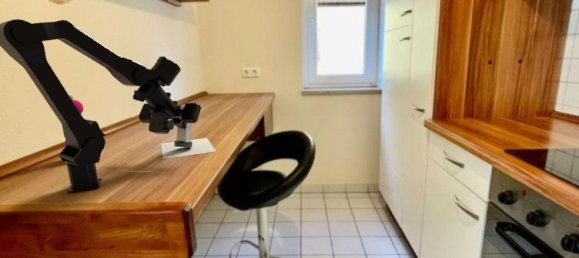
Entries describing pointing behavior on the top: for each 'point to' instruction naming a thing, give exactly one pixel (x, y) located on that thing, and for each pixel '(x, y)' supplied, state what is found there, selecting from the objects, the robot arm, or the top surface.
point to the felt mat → (187, 149)
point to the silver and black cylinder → (184, 136)
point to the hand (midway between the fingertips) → (182, 127)
